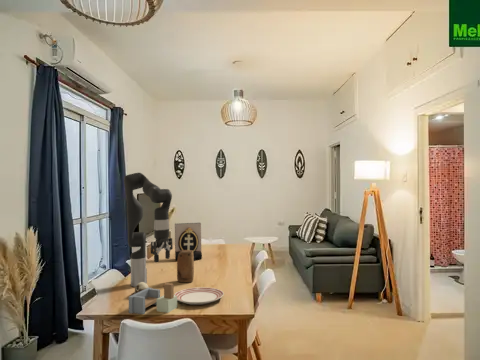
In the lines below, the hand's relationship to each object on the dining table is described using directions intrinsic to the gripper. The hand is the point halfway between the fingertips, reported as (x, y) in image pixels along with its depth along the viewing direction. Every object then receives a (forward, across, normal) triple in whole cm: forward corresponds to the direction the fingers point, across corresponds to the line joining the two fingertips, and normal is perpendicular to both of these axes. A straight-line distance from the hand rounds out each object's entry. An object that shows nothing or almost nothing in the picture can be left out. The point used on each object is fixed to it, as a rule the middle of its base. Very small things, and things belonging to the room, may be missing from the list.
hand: (162, 260), depth 176 cm
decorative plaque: (+24, -100, -54) cm, 116 cm away
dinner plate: (+25, -22, +8) cm, 34 cm away
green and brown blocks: (+25, -2, +1) cm, 25 cm away
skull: (+25, -13, -26) cm, 39 cm away
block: (+25, -47, -19) cm, 56 cm away
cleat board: (+25, +2, -10) cm, 27 cm away
